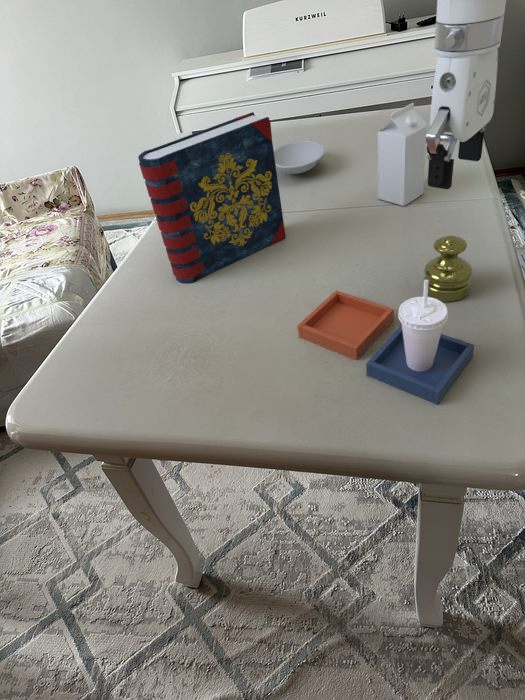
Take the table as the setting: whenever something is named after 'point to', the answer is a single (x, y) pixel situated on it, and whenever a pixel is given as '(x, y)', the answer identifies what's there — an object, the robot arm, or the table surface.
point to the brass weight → (448, 270)
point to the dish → (298, 156)
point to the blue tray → (423, 384)
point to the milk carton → (402, 157)
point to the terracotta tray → (346, 324)
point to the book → (215, 195)
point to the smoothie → (422, 329)
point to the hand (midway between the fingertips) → (454, 172)
